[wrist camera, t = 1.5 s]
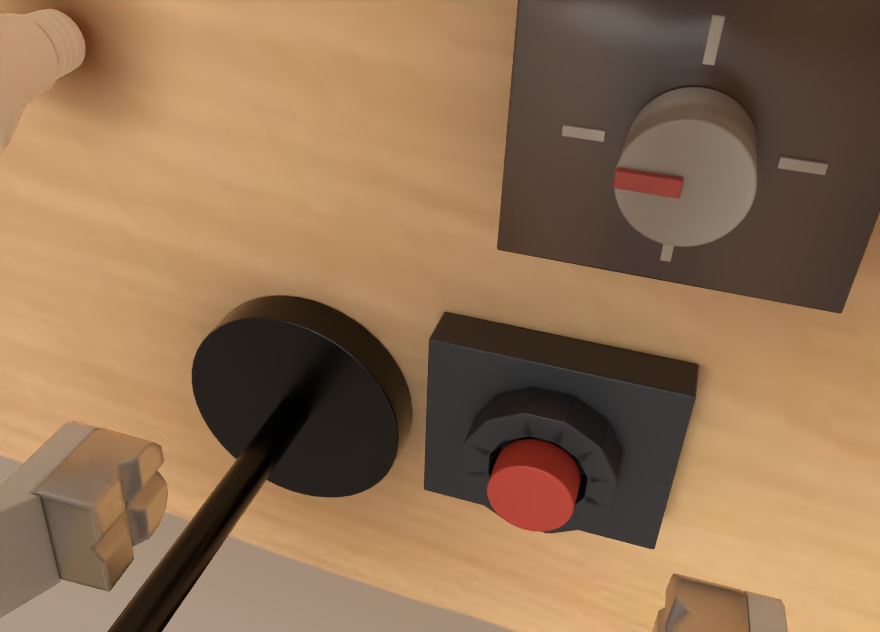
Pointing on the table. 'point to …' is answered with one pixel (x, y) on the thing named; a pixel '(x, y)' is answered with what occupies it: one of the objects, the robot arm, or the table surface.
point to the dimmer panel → (721, 69)
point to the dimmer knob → (687, 167)
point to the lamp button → (534, 485)
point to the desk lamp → (280, 426)
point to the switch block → (558, 419)
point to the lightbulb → (33, 60)
